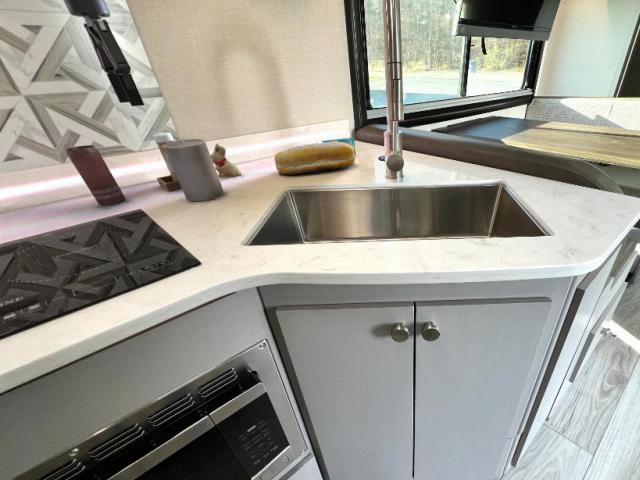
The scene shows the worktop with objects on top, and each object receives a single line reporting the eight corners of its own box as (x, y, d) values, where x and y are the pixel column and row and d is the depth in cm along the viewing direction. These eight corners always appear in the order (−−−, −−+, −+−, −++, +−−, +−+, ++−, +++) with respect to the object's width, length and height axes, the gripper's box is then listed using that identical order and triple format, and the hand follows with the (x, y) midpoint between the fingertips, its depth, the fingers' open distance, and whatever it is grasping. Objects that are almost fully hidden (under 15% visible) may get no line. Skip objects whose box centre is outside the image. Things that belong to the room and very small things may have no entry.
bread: (360, 169, 106) (357, 143, 101) (279, 180, 99) (272, 152, 94) (350, 159, 116) (347, 136, 111) (276, 169, 109) (269, 144, 104)
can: (103, 200, 88) (70, 146, 80) (129, 197, 90) (99, 143, 81) (94, 207, 84) (57, 151, 75) (121, 204, 85) (88, 148, 77)
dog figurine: (230, 171, 108) (219, 139, 102) (243, 174, 105) (233, 141, 99) (215, 175, 105) (202, 142, 99) (228, 179, 101) (216, 145, 95)
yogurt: (325, 159, 118) (322, 141, 114) (324, 158, 119) (321, 140, 115) (356, 155, 121) (354, 137, 117) (355, 154, 122) (353, 137, 118)
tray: (169, 192, 92) (165, 184, 91) (160, 185, 98) (156, 178, 96) (208, 182, 99) (205, 175, 97) (197, 177, 104) (194, 169, 102)
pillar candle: (217, 187, 94) (196, 132, 85) (229, 195, 88) (207, 136, 79) (182, 196, 89) (155, 137, 80) (191, 204, 83) (164, 142, 74)
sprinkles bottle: (176, 180, 99) (155, 132, 91) (192, 178, 100) (172, 131, 91) (172, 184, 95) (149, 135, 87) (188, 183, 96) (167, 134, 88)
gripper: (112, -14, 65) (161, 105, 78) (92, 1, 79) (136, 99, 92) (65, -18, 61) (125, 108, 74) (53, -2, 75) (105, 102, 88)
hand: (131, 104), depth 83 cm, fingers open, 13 cm apart
